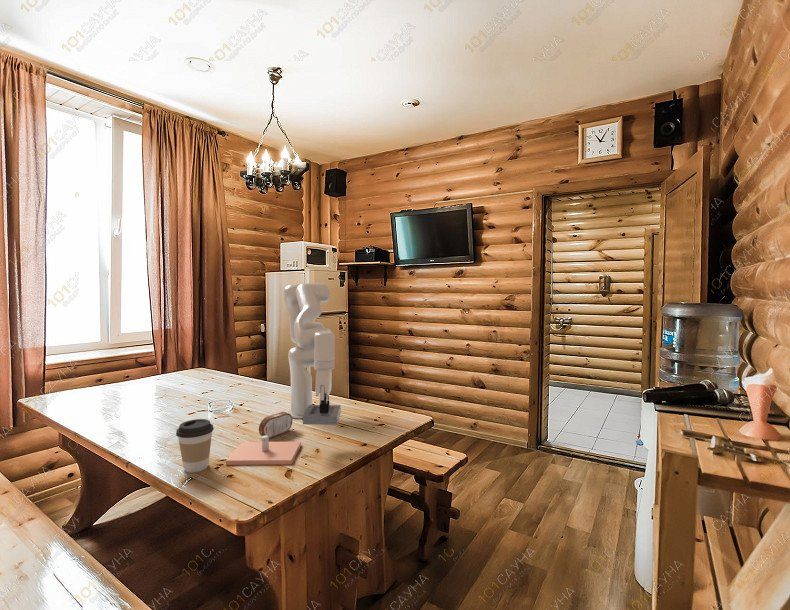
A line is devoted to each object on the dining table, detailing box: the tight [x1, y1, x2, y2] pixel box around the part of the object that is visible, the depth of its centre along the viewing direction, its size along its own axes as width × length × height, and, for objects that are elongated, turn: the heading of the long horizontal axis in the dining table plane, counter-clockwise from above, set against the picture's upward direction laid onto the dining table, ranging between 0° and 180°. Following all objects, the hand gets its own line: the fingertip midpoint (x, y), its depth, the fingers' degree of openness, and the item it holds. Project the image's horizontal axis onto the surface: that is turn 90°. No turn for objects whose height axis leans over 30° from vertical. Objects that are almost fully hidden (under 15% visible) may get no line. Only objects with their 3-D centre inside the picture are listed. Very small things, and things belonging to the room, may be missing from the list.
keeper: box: [225, 436, 302, 466], centre depth 149 cm, size 16×22×7 cm
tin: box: [258, 411, 293, 439], centre depth 168 cm, size 15×3×8 cm, turn 144°
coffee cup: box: [175, 418, 214, 473], centre depth 138 cm, size 11×11×15 cm
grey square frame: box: [302, 404, 342, 426], centre depth 153 cm, size 12×12×3 cm
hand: (324, 411), depth 158 cm, fingers closed on grey square frame, 2 cm apart
